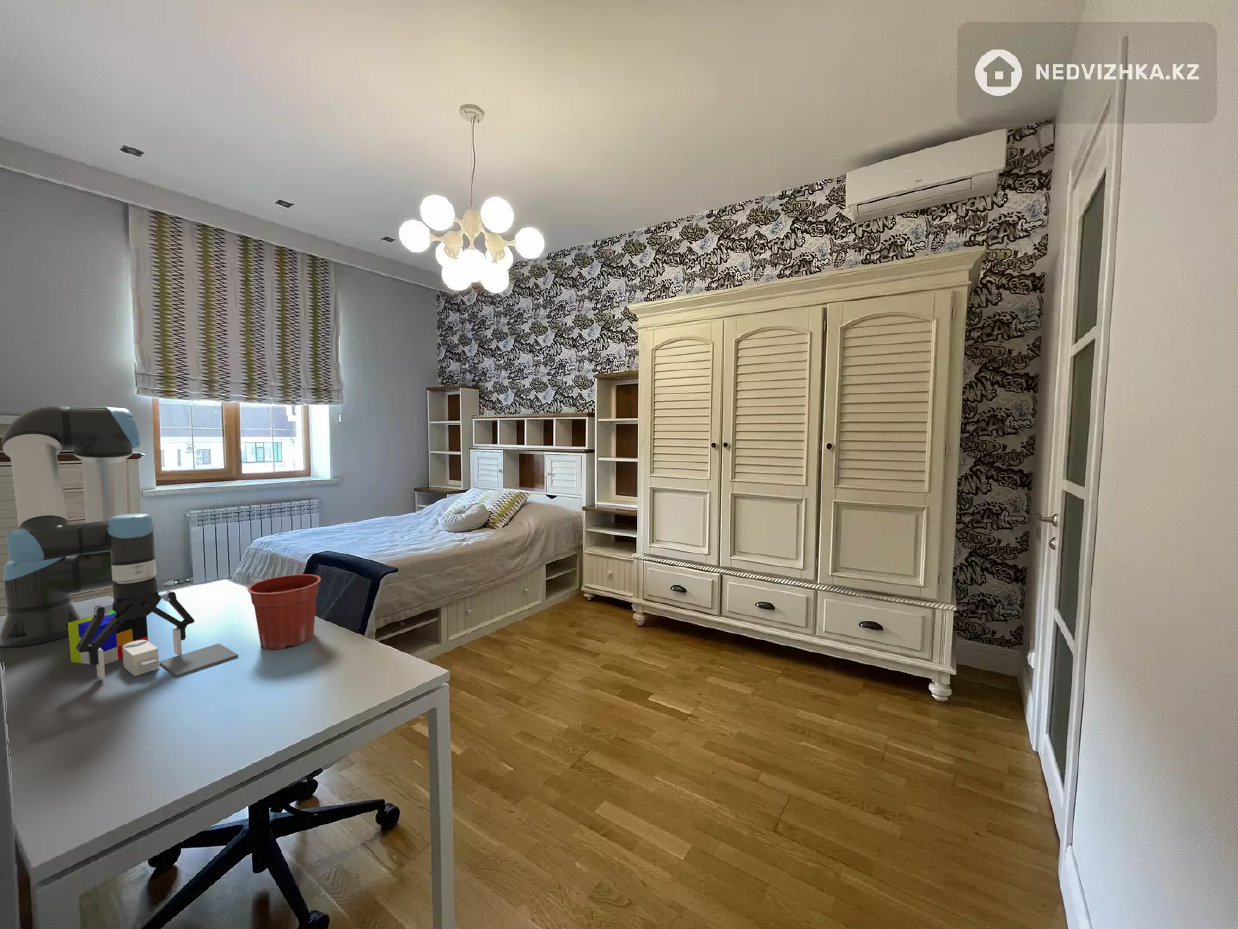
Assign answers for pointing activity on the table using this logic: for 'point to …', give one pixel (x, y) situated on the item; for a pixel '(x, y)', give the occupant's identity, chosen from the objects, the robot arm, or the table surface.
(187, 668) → the coaster
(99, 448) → the robot arm
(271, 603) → the flower pot
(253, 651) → the table surface
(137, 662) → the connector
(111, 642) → the puzzle toy
